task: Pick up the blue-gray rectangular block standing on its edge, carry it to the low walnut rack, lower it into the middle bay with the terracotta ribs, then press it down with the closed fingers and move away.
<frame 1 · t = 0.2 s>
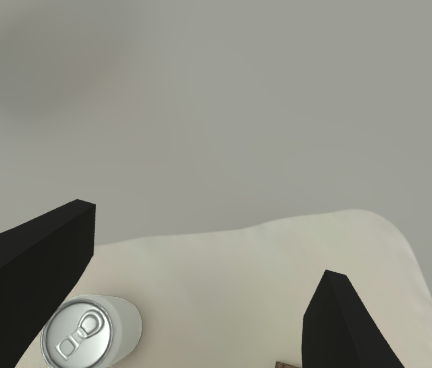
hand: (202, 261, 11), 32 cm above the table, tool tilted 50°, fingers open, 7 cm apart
can: (113, 328, 40), on the table
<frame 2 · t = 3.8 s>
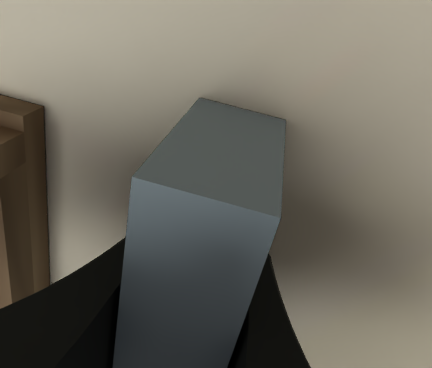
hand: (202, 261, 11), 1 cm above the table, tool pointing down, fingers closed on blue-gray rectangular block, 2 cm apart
blue-gray rectangular block: (211, 233, 12), on the table, touching gripper
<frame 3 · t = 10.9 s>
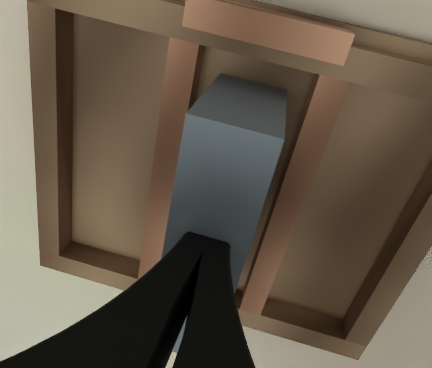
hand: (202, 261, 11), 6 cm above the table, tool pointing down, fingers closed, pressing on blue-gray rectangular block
blue-gray rectangular block: (227, 185, 15), point 1 cm above the table, touching gripper, rack
rack: (231, 175, 16), on the table
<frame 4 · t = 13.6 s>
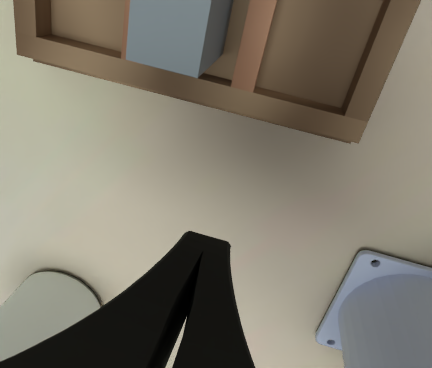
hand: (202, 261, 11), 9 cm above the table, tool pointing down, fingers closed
can: (66, 298, 28), on the table
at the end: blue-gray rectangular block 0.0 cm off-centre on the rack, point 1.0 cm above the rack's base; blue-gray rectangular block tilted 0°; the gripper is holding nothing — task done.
